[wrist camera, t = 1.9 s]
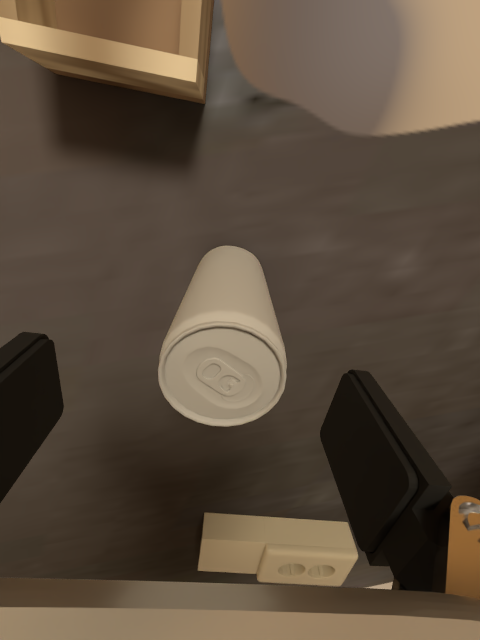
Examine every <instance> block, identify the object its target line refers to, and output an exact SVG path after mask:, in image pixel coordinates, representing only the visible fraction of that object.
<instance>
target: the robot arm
mask: <svg viewBox="0 0 480 640" xmlns="http://www.w3.org/2000/svg"><path fill="white" fill-rule="evenodd" d="M63 408H64V405H63V398H62V392H61V386H60V379H59V373H58V366H57V360H56V353H55V347H54V342H53V341H52V340H49V338H48V337H47V335H45V334H38V333H30V332H22V333H20V334H19V335H17V336H16V337H15V338H13V339H12V340H11V341H9V342H8V343H7V344H5V345H4V346H3V347H1V348H0V503H1V501H2V500H3V499H4V497H5V496H6V494H7V493H8V491H9V490H10V489H11V487H12V486H13V484H14V483H15V481H16V480H17V479H18V477H19V476H20V474H21V473H22V471H23V470H24V469H25V467H26V466H27V464H28V463H29V461H30V460H31V459H32V457H33V456H34V454H35V453H36V451H37V450H38V449H39V447H40V446H41V444H42V443H43V441H44V440H45V439H46V437H47V436H48V434H49V433H50V431H51V430H52V429H53V427H54V426H55V424H56V423H57V421H58V420H59V419H60V417H61V415H62V412H63ZM320 437H321V441H322V444H323V447H324V450H325V453H326V456H327V458H328V461H329V464H330V467H331V470H332V473H333V476H334V478H335V481H336V484H337V487H338V490H339V493H340V495H341V498H342V501H343V504H344V507H345V510H346V512H347V515H348V518H349V521H350V524H351V527H352V530H353V532H354V535H355V538H356V541H357V544H358V546H359V548H360V549H361V550H362V551H364V552H365V553H366V556H367V559H368V561H369V564H370V566H390V568H391V571H392V573H393V575H394V580H393V585H392V590H388V589H370V588H345V587H317V586H288V585H260V584H228V583H194V582H160V581H125V580H88V579H46V578H4V577H0V640H480V500H478V499H476V498H472V497H469V496H457V497H456V498H453V496H452V495H451V494H450V492H449V490H450V489H451V487H452V486H451V484H450V483H449V482H448V480H447V479H446V477H445V476H444V475H443V473H442V472H441V470H440V469H439V468H438V466H437V465H436V464H435V462H434V461H433V459H432V458H431V457H430V455H429V454H428V452H427V451H426V450H425V448H424V447H423V446H422V444H421V443H420V441H419V440H418V439H417V437H416V436H415V434H414V433H413V432H412V430H411V429H410V428H409V426H408V425H407V423H406V422H405V421H404V419H403V418H402V417H401V415H400V414H399V412H398V411H397V410H396V408H395V407H394V405H393V404H392V403H391V401H390V400H389V399H388V397H387V396H386V394H385V393H384V392H383V390H382V389H381V387H380V386H379V385H378V383H377V382H376V381H375V379H374V378H373V376H372V375H371V374H370V373H369V372H367V371H360V370H349V371H348V373H345V374H343V376H342V378H341V380H340V383H339V385H338V388H337V390H336V393H335V395H334V398H333V400H332V403H331V405H330V408H329V410H328V413H327V415H326V418H325V420H324V423H323V425H322V427H321V431H320Z"/></svg>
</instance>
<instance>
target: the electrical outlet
mask: <svg viewBox="0 0 480 640" xmlns="http://www.w3.org/2000/svg"><path fill="white" fill-rule="evenodd" d="M357 559H358V553H357V550H356V546H355V543H354V540H353V537H352V534H351V531H350V528H349V525H348V523H347V522H335V521H320V520H306V519H291V518H277V517H262V516H247V515H233V514H218V513H204V521H203V528H202V536H201V544H200V553H199V563H198V571H213V572H231V573H249V574H257V580H258V581H259V582H266V583H285V584H304V585H323V586H341V585H342V583H343V582H344V580H345V578H346V577H347V575H348V573H349V572H350V570H351V569H352V567H353V565H354V564H355V562H356V560H357Z"/></svg>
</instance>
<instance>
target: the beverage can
mask: <svg viewBox="0 0 480 640" xmlns="http://www.w3.org/2000/svg"><path fill="white" fill-rule="evenodd" d="M159 361H160V364H159V367H158V377H159V385H160V387H161V390H162V392H163V395H164V397H165V398H166V399H167V401H168V402H169V403H170V404H171V406H172V407H173V408H174V409H176V410H177V411H178V412H180V413H181V414H182V415H183V416H185V417H187V418H189V419H192V420H194V421H196V422H198V423H202V424H206V425H211V426H225V427H228V426H235V425H242V424H245V423H248V422H250V421H253V420H256V419H258V418H259V417H261V416H262V415H264V414H266V413H267V412H268V411H269V410H270V409H271V408H272V407H273V406H274V405H275V404H276V403H277V402H278V400H279V398H280V397H281V395H282V393H283V391H284V388H285V382H286V367H287V361H286V354H285V348H284V344H283V341H282V337H281V334H280V330H279V326H278V323H277V319H276V316H275V312H274V309H273V305H272V302H271V298H270V295H269V291H268V287H267V284H266V280H265V277H264V273H263V270H262V267H261V265H260V263H259V261H258V260H257V258H256V257H255V256H254V255H253V254H252V253H250V252H248V251H247V250H245V249H242V248H239V247H235V246H220V247H217V248H215V249H213V250H211V251H209V252H208V253H207V254H206V255H205V256H204V257H203V258H202V260H201V262H200V263H199V265H198V267H197V269H196V272H195V274H194V276H193V278H192V280H191V282H190V285H189V287H188V289H187V291H186V293H185V296H184V298H183V300H182V302H181V304H180V307H179V309H178V311H177V313H176V316H175V318H174V320H173V322H172V324H171V327H170V329H169V331H168V333H167V335H166V338H165V340H164V342H163V345H162V349H161V353H160V356H159Z"/></svg>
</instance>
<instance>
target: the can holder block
mask: <svg viewBox="0 0 480 640" xmlns="http://www.w3.org/2000/svg"><path fill="white" fill-rule="evenodd" d="M213 6H214V0H0V36H1V42H2V43H4V44H6V45H7V46H9V47H11V48H12V49H14V50H16V51H18V52H19V53H21V54H23V55H24V56H26V57H28V58H30V59H31V60H33V61H35V62H36V63H38V64H40V65H42V66H43V67H45V68H47V69H48V70H50V71H52V72H54V73H55V74H58V75H63V76H68V77H73V78H78V79H83V80H88V81H93V82H98V83H103V84H108V85H113V86H118V87H123V88H128V89H133V90H138V91H143V92H148V93H153V94H158V95H163V96H168V97H172V98H177V99H182V100H187V101H192V102H197V103H202V104H205V99H206V87H207V76H208V64H209V52H210V41H211V29H212V18H213Z"/></svg>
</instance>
